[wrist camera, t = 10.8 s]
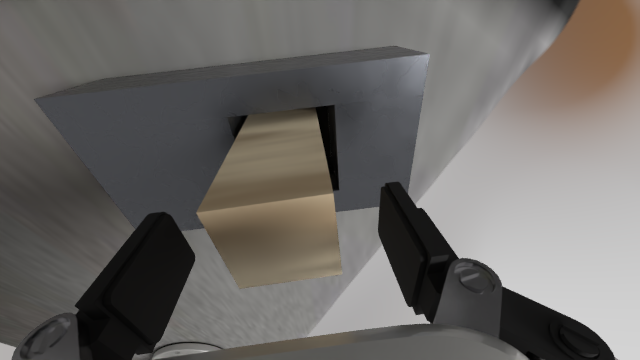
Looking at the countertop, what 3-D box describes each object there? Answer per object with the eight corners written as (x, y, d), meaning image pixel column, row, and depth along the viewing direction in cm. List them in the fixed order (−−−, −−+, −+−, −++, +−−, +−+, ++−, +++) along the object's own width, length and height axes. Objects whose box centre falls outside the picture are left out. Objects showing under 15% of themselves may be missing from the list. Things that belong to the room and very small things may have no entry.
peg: (320, 149, 20) (342, 274, 10) (268, 156, 20) (239, 288, 10) (313, 96, 17) (333, 193, 7) (253, 104, 17) (196, 212, 7)
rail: (385, 168, 22) (406, 203, 17) (170, 194, 21) (140, 235, 17) (395, 45, 16) (429, 54, 12) (103, 79, 16) (33, 99, 11)
